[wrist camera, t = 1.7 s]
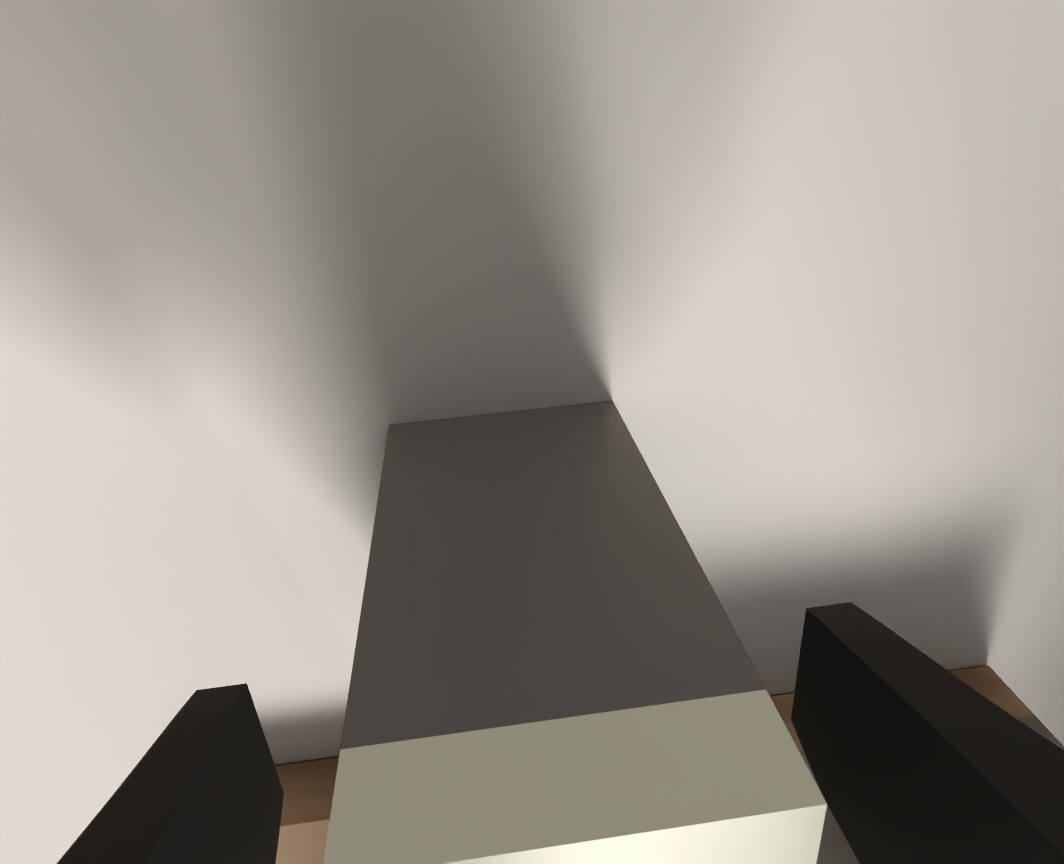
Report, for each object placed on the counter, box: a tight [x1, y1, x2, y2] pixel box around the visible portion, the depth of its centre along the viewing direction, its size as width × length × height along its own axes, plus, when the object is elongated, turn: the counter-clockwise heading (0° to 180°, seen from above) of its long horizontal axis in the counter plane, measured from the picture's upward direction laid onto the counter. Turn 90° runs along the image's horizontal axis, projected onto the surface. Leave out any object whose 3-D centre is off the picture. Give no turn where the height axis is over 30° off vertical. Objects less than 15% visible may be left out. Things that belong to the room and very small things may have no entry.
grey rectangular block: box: [323, 401, 827, 864], centre depth 10 cm, size 4×4×8 cm
